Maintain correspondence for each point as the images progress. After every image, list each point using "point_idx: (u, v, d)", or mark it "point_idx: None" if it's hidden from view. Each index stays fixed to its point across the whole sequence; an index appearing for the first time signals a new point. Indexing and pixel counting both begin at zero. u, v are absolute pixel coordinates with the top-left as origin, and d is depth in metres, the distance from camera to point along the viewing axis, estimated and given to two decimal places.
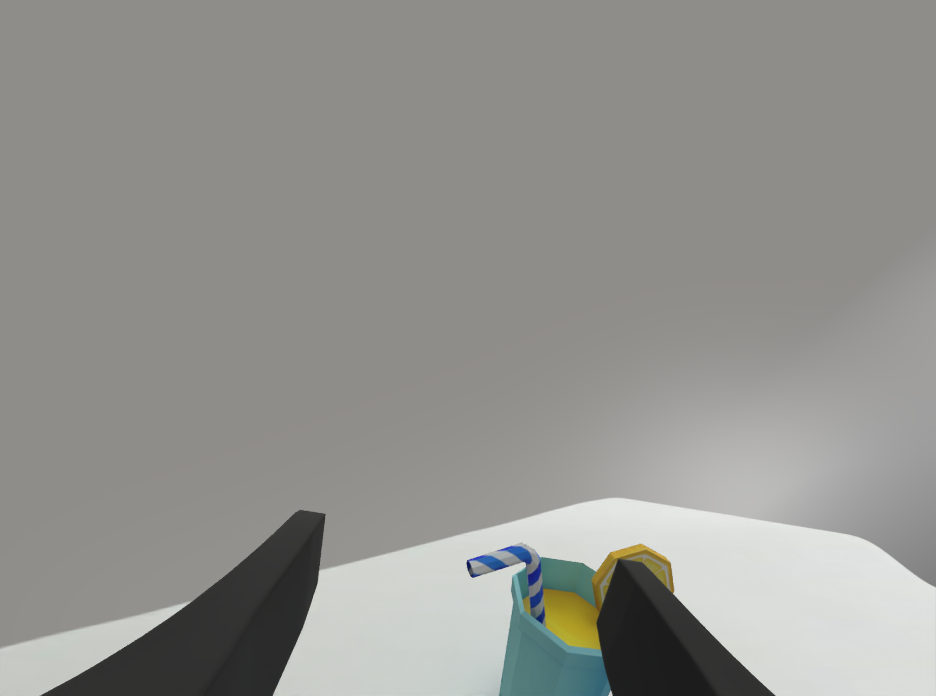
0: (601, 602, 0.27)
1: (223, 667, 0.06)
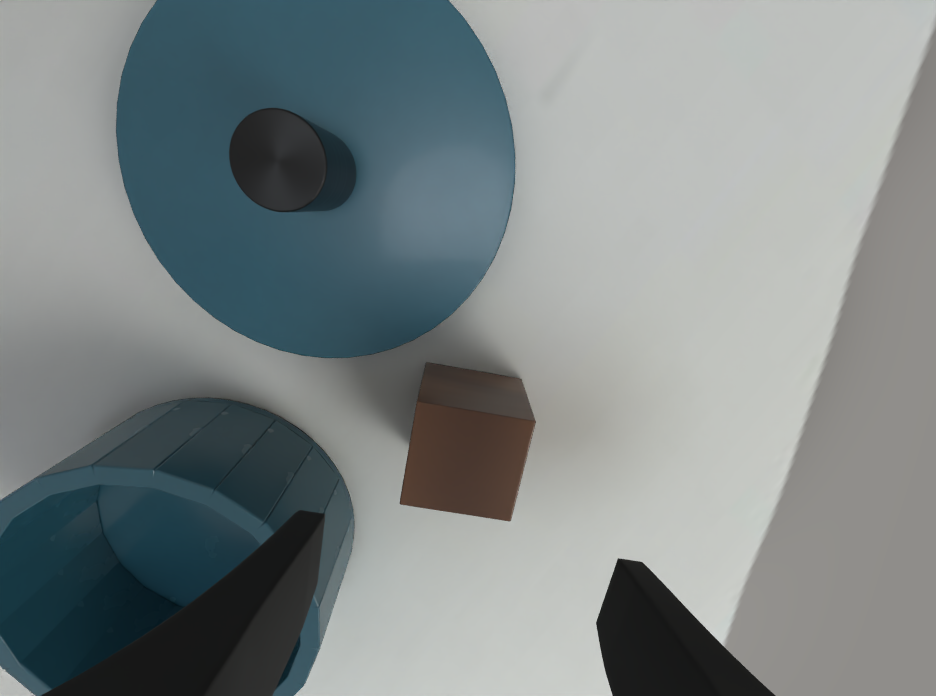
0: None
1: (223, 667, 0.06)
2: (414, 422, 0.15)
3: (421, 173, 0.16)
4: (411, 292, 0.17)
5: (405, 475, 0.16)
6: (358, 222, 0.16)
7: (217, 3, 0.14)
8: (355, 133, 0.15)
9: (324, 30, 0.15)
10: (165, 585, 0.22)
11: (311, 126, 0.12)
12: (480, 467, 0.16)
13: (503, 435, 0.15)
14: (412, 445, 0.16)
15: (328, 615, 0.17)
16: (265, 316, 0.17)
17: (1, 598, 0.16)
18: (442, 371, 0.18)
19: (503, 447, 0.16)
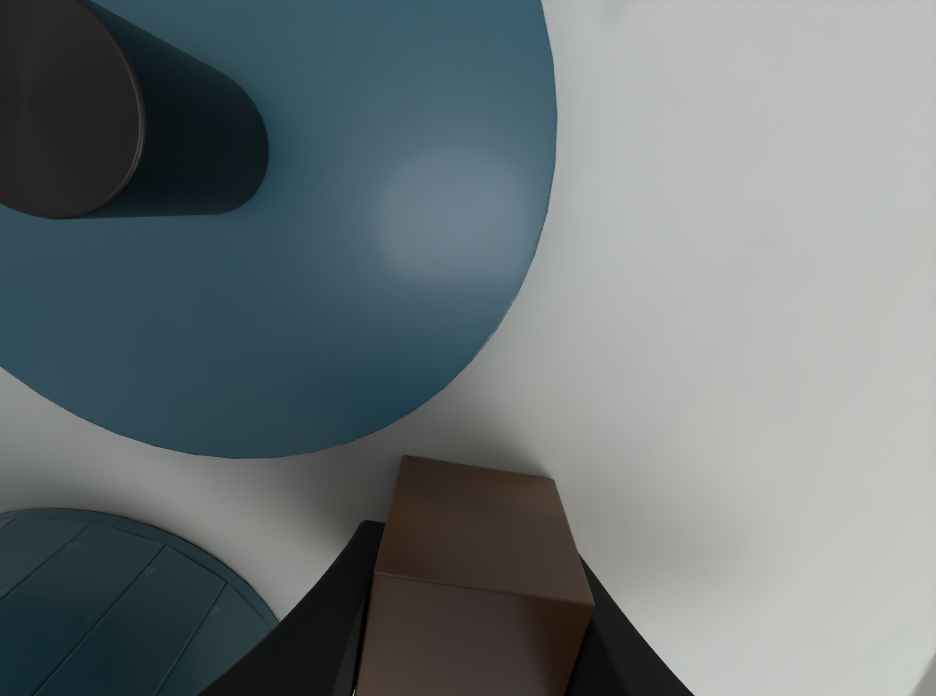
0: None
1: (334, 681, 0.06)
2: (370, 607, 0.08)
3: (387, 146, 0.09)
4: (374, 354, 0.10)
5: (356, 690, 0.09)
6: (277, 234, 0.09)
7: None
8: (264, 72, 0.08)
9: None
10: None
11: (98, 14, 0.05)
12: (491, 678, 0.09)
13: (535, 627, 0.08)
14: (368, 644, 0.09)
15: None
16: (127, 393, 0.10)
17: None
18: (427, 475, 0.11)
19: (534, 646, 0.09)
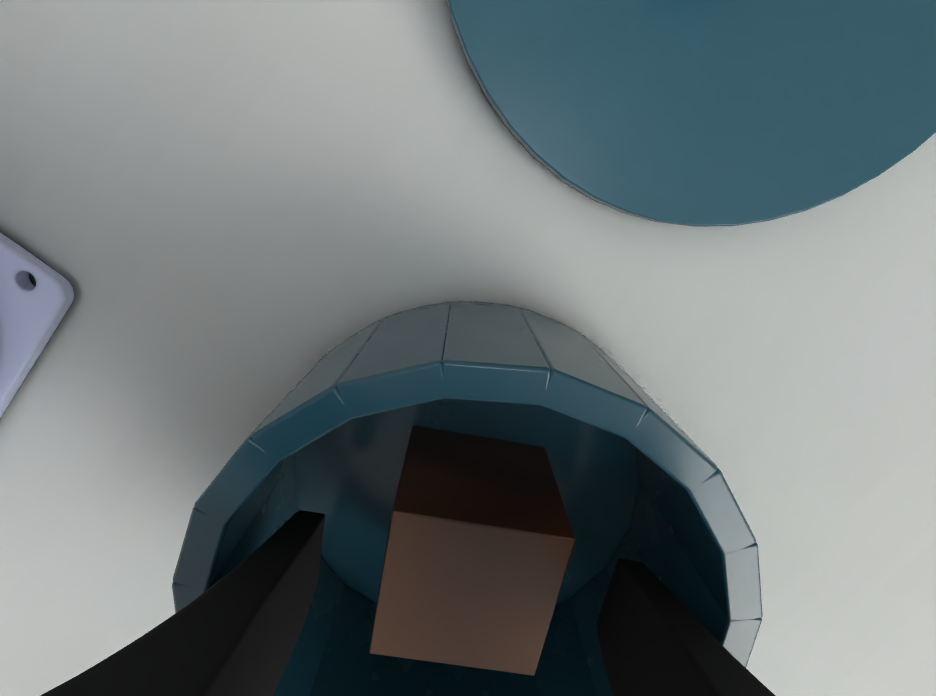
0: None
1: (223, 667, 0.06)
2: (389, 541, 0.10)
3: None
4: (862, 111, 0.11)
5: (376, 614, 0.11)
6: None
7: None
8: None
9: None
10: (374, 583, 0.15)
11: None
12: (489, 604, 0.10)
13: (526, 559, 0.10)
14: (386, 573, 0.10)
15: None
16: (619, 153, 0.11)
17: None
18: (434, 441, 0.13)
19: (525, 575, 0.10)
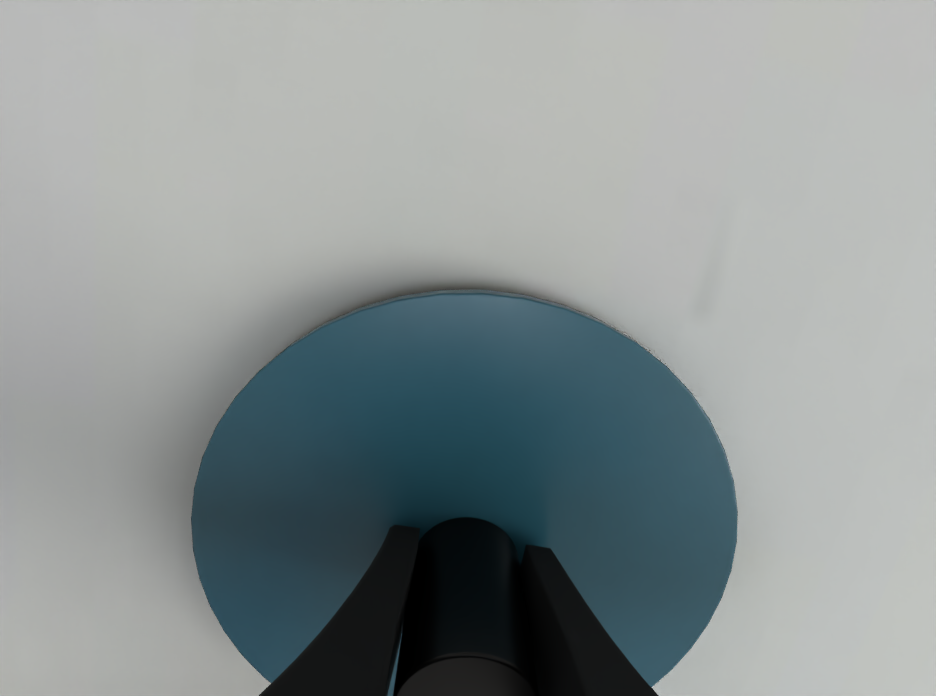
0: None
1: None
2: None
3: (594, 501, 0.11)
4: (645, 625, 0.12)
5: None
6: None
7: (259, 459, 0.11)
8: (490, 502, 0.11)
9: (394, 418, 0.10)
10: None
11: (489, 653, 0.08)
12: None
13: None
14: None
15: None
16: None
17: None
18: None
19: None
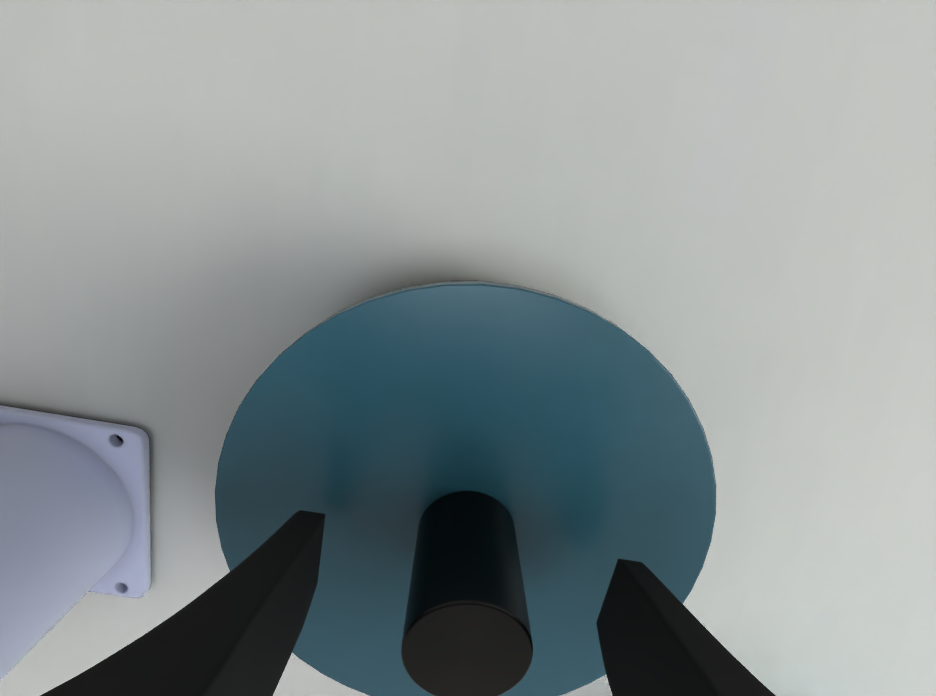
0: None
1: (223, 667, 0.06)
2: None
3: (584, 476, 0.12)
4: None
5: None
6: (536, 556, 0.13)
7: (278, 436, 0.12)
8: (489, 476, 0.12)
9: (401, 399, 0.11)
10: None
11: (488, 601, 0.09)
12: None
13: None
14: None
15: None
16: None
17: None
18: None
19: None
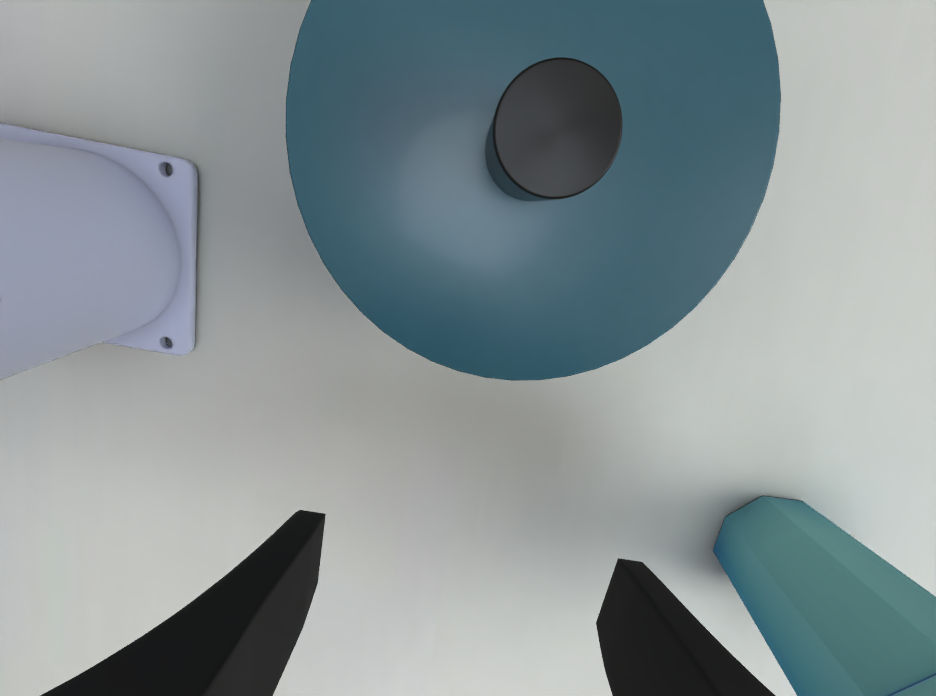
0: None
1: (223, 667, 0.06)
2: None
3: (652, 82, 0.12)
4: (693, 230, 0.13)
5: None
6: (599, 183, 0.13)
7: (351, 28, 0.12)
8: None
9: None
10: None
11: (581, 61, 0.09)
12: None
13: None
14: None
15: None
16: (538, 347, 0.14)
17: None
18: None
19: None
